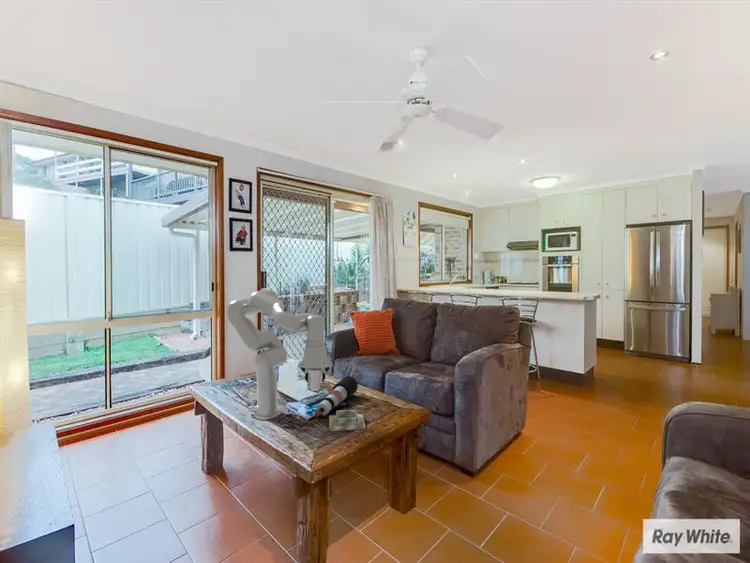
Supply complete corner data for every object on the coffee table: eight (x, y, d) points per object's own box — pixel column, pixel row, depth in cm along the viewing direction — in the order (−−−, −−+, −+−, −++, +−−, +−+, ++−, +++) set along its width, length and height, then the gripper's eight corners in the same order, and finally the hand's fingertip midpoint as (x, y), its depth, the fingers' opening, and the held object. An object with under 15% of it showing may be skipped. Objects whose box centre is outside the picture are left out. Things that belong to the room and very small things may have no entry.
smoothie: (319, 386, 166) (319, 356, 165) (324, 390, 161) (324, 360, 160) (306, 388, 163) (306, 358, 162) (310, 393, 158) (310, 362, 157)
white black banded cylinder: (313, 427, 170) (303, 408, 170) (346, 395, 201) (338, 379, 201) (329, 421, 166) (319, 402, 166) (360, 390, 196) (352, 373, 197)
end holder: (329, 430, 157) (329, 421, 157) (329, 418, 170) (329, 409, 170) (365, 428, 159) (365, 419, 159) (362, 416, 172) (362, 407, 172)
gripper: (295, 344, 156) (294, 384, 157) (334, 344, 158) (334, 383, 159) (296, 340, 163) (296, 379, 164) (334, 340, 165) (334, 378, 166)
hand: (315, 381), depth 162 cm, fingers closed on smoothie, 6 cm apart
